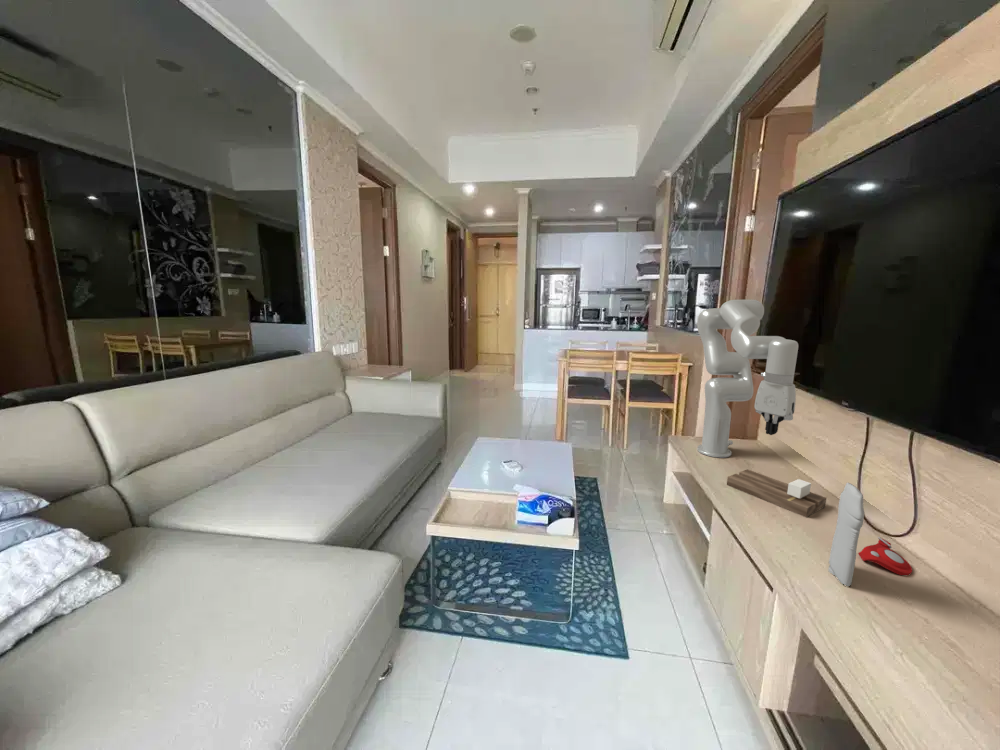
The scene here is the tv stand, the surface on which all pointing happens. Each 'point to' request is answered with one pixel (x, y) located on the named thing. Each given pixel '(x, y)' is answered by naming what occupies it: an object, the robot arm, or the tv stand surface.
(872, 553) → the tracker holder
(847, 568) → the tall pale column
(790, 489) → the fader knob
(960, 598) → the tv stand surface
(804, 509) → the fader console
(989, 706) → the tv stand surface
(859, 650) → the tv stand surface
